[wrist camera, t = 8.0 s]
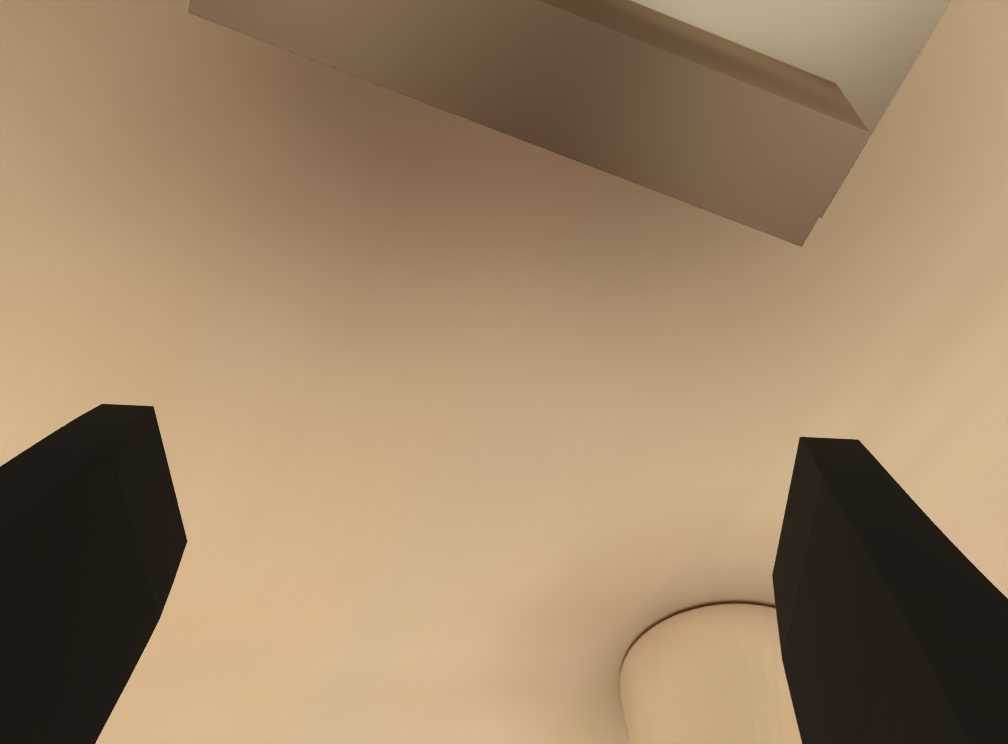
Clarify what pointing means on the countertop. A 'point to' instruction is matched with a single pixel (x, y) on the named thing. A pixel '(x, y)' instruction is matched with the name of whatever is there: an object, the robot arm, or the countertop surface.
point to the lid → (637, 82)
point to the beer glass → (709, 680)
